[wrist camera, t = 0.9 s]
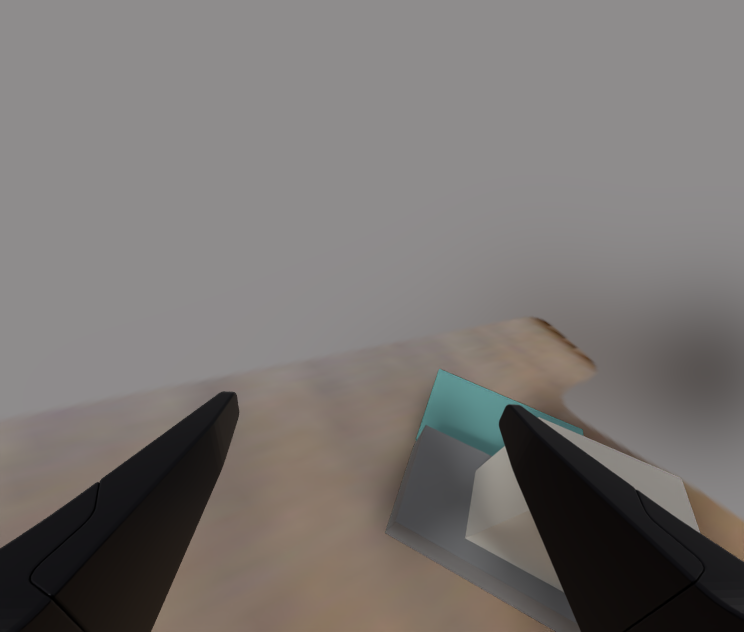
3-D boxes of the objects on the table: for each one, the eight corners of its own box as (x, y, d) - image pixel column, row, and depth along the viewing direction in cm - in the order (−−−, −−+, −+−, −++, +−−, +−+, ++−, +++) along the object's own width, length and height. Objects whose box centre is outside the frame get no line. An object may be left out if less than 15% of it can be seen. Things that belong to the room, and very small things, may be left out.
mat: (590, 526, 21) (594, 525, 21) (415, 440, 24) (416, 438, 24) (580, 431, 27) (582, 429, 26) (438, 371, 30) (439, 368, 29)
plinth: (605, 660, 16) (664, 672, 14) (384, 532, 19) (395, 521, 17) (591, 533, 21) (633, 522, 18) (413, 445, 24) (425, 424, 21)
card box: (574, 598, 15) (722, 596, 9) (465, 538, 16) (538, 505, 11) (568, 516, 18) (681, 478, 12) (475, 470, 19) (538, 416, 14)
